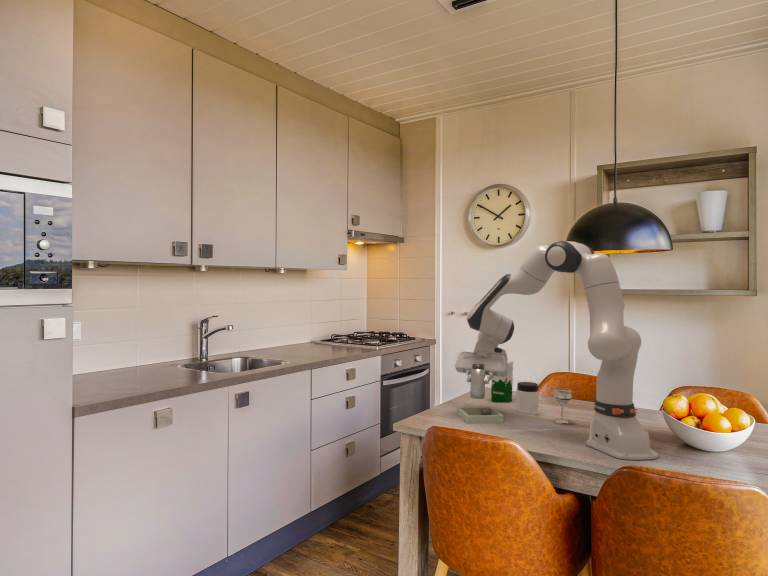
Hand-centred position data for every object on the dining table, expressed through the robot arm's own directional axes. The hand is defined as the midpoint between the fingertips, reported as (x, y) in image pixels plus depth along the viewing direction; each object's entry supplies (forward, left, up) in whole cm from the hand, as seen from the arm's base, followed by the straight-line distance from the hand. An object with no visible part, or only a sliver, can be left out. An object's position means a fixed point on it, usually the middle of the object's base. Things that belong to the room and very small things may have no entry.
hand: (477, 382), depth 197 cm
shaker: (+1, 0, -6) cm, 6 cm away
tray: (+2, -2, -15) cm, 15 cm away
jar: (+11, -25, -15) cm, 31 cm away
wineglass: (-3, -33, -15) cm, 36 cm away
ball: (+6, -5, -14) cm, 16 cm away
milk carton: (+32, -22, -15) cm, 42 cm away
